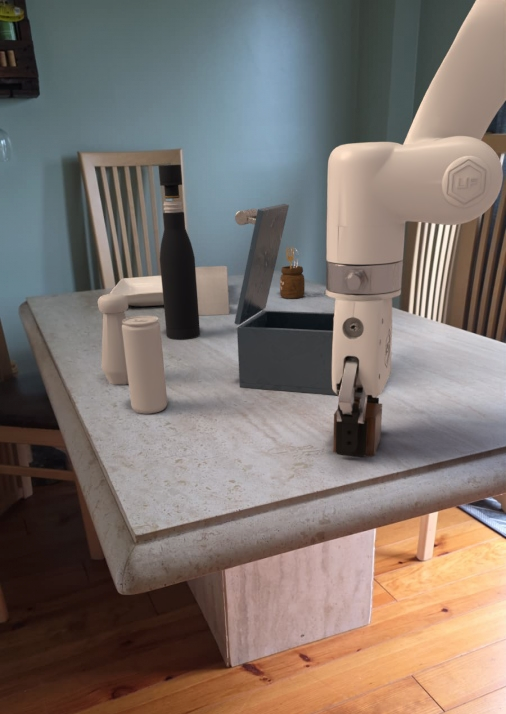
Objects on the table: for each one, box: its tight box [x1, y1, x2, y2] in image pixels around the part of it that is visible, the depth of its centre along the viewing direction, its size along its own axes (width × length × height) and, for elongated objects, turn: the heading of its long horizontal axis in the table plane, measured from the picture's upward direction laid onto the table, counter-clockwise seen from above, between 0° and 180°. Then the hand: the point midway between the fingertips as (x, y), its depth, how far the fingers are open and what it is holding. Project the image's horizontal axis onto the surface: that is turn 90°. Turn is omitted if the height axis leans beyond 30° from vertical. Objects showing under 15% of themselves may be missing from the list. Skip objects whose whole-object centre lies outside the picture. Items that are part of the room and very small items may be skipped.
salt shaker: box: [97, 293, 129, 386], centre depth 93 cm, size 6×6×13 cm
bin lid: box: [234, 203, 290, 326], centre depth 88 cm, size 15×12×5 cm
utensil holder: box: [279, 246, 306, 300], centre depth 150 cm, size 6×6×12 cm
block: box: [332, 402, 383, 457], centre depth 69 cm, size 4×4×4 cm
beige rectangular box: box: [195, 265, 230, 316], centre depth 136 cm, size 4×7×10 cm, turn 90°
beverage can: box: [122, 315, 168, 415], centre depth 81 cm, size 5×5×12 cm
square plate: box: [109, 275, 164, 307], centre depth 156 cm, size 27×27×4 cm
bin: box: [236, 309, 338, 396], centre depth 91 cm, size 15×12×9 cm
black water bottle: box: [158, 164, 201, 340], centre depth 114 cm, size 6×6×30 cm
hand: (357, 440), depth 70 cm, fingers open, 6 cm apart
